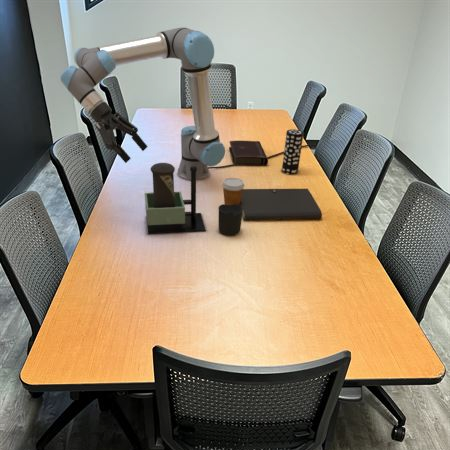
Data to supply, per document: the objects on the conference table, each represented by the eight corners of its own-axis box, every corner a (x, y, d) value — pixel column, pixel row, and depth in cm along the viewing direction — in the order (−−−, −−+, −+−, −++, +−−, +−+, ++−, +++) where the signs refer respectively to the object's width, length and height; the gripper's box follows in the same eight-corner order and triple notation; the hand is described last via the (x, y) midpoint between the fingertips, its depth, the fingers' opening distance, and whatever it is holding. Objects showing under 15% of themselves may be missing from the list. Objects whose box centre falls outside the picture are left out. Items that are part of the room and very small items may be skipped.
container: (172, 220, 178) (170, 171, 166) (150, 217, 179) (147, 168, 167) (178, 210, 185) (177, 162, 173) (157, 207, 186) (154, 159, 174)
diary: (260, 149, 259) (260, 140, 256) (267, 166, 240) (268, 156, 237) (227, 149, 257) (227, 140, 254) (232, 166, 238) (233, 156, 235)
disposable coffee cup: (245, 205, 202) (247, 179, 195) (238, 214, 195) (240, 188, 187) (225, 201, 204) (226, 175, 197) (217, 210, 197) (218, 184, 190)
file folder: (307, 187, 210) (322, 212, 191) (306, 195, 213) (320, 221, 194) (237, 188, 206) (244, 213, 188) (236, 196, 209) (244, 222, 190)
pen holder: (233, 239, 178) (234, 216, 172) (213, 232, 182) (213, 209, 176) (245, 229, 184) (247, 207, 178) (225, 223, 188) (226, 200, 182)
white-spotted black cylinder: (279, 172, 233) (284, 133, 221) (284, 167, 239) (289, 128, 227) (295, 175, 231) (301, 135, 219) (299, 170, 237) (305, 131, 225)
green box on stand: (200, 214, 193) (201, 158, 178) (205, 231, 182) (206, 172, 167) (146, 217, 189) (142, 159, 175) (148, 234, 178) (143, 174, 163)
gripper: (109, 106, 179) (146, 149, 184) (72, 123, 160) (114, 171, 165) (119, 93, 174) (157, 138, 180) (83, 109, 155) (126, 160, 161)
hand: (137, 154), depth 173 cm, fingers open, 13 cm apart
